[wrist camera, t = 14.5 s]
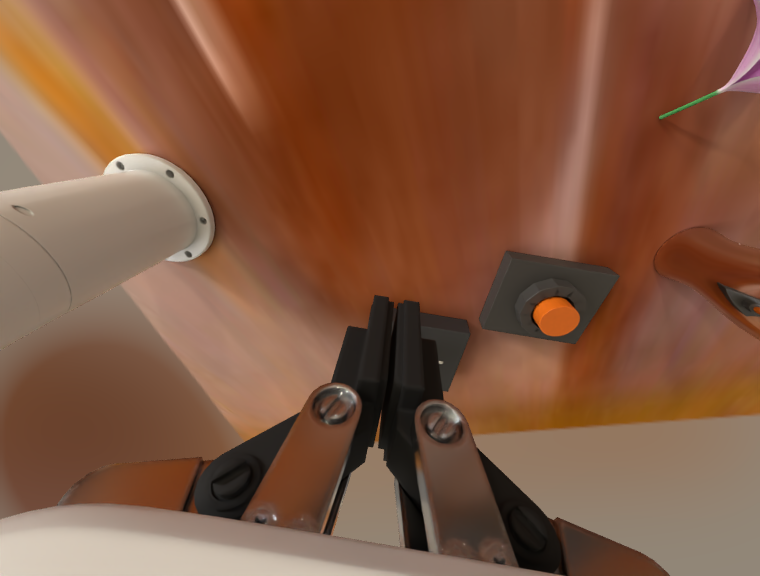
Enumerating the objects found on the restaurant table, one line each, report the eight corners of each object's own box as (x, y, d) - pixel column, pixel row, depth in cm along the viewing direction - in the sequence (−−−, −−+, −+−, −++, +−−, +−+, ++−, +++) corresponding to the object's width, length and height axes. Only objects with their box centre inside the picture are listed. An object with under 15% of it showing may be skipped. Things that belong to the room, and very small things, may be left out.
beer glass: (704, 280, 32) (902, 383, 19) (638, 281, 33) (786, 381, 20) (738, 221, 29) (1007, 298, 16) (664, 223, 30) (863, 299, 17)
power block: (478, 318, 38) (485, 338, 34) (505, 250, 33) (517, 265, 29) (566, 333, 38) (582, 354, 34) (607, 267, 33) (631, 283, 29)
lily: (731, 154, 27) (948, 94, 18) (635, 194, 25) (818, 152, 16) (706, 23, 25) (932, -122, 16) (602, 56, 24) (785, -83, 14)
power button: (526, 322, 33) (533, 333, 31) (541, 293, 31) (549, 303, 29) (560, 327, 33) (568, 339, 31) (577, 299, 31) (587, 310, 29)
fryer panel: (363, 362, 44) (360, 378, 41) (371, 304, 38) (369, 318, 35) (445, 376, 43) (448, 392, 41) (466, 319, 38) (470, 334, 35)
